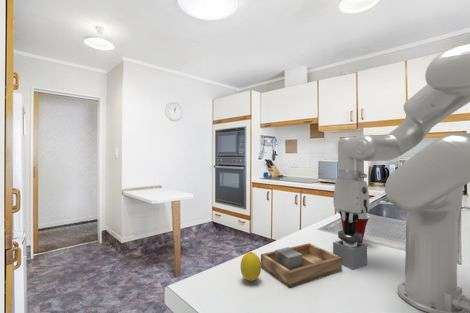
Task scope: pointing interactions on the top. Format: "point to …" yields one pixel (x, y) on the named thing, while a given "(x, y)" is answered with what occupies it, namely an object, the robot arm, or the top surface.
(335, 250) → the mount
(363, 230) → the plastic cup
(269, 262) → the caddy
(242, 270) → the lemon
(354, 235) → the plunger
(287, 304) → the top surface
